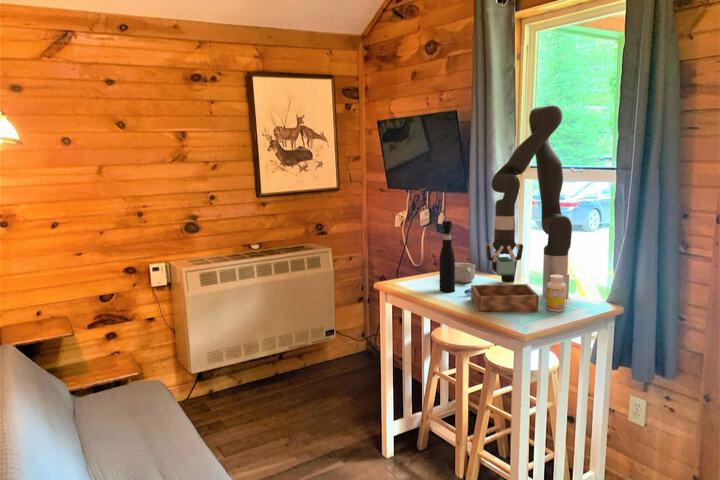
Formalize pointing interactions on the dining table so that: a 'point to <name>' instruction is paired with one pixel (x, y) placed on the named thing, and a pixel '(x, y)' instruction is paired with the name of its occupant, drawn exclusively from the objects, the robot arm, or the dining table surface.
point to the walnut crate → (504, 298)
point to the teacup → (464, 272)
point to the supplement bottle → (556, 294)
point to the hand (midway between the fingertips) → (503, 270)
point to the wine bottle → (447, 261)
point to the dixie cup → (508, 278)
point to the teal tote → (505, 266)
